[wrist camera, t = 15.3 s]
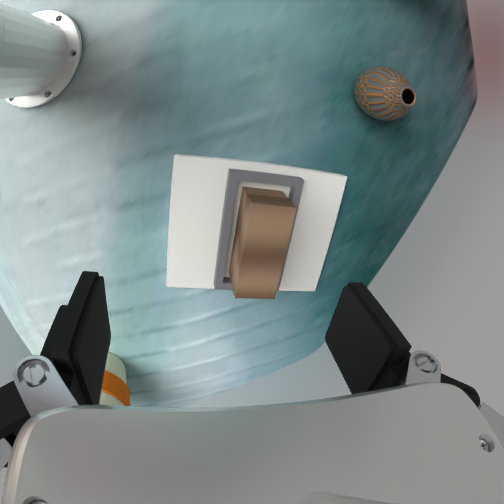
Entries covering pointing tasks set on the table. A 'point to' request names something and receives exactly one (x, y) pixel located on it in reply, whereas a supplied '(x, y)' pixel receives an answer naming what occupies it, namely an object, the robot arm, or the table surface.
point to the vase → (384, 93)
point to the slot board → (226, 212)
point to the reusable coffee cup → (114, 383)
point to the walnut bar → (260, 242)
